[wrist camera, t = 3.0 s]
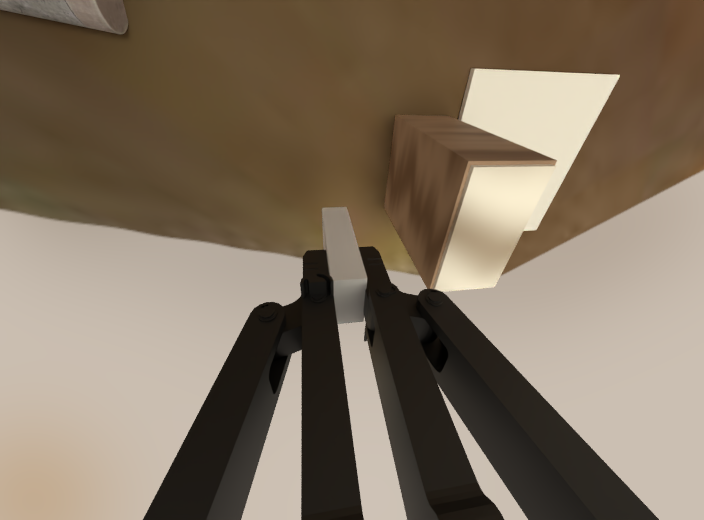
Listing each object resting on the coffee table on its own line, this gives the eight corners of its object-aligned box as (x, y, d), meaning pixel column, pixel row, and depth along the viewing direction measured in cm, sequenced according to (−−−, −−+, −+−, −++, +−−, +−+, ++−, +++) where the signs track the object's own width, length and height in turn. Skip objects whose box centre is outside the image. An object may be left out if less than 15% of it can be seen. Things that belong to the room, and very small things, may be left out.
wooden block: (395, 114, 23) (471, 163, 13) (448, 115, 24) (561, 162, 13) (383, 207, 29) (430, 294, 18) (427, 206, 29) (495, 289, 19)
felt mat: (471, 68, 22) (474, 68, 21) (614, 74, 24) (620, 75, 23) (429, 232, 31) (431, 235, 31) (532, 227, 33) (535, 230, 33)
